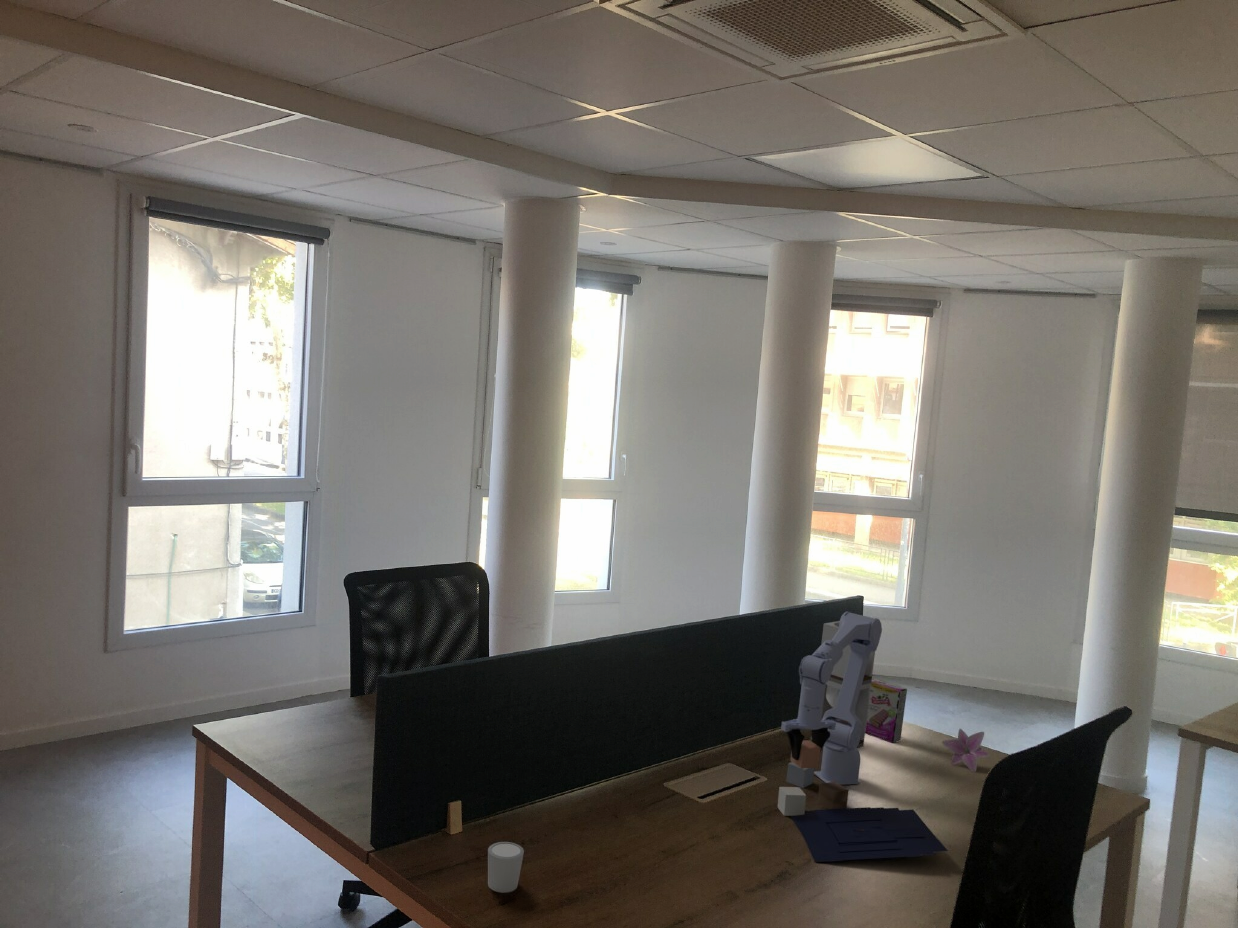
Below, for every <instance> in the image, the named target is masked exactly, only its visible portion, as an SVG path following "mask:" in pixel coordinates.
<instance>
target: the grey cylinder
mask: <svg viewBox="0 0 1238 928" xmlns="http://www.w3.org/2000/svg"><path fill="white" fill-rule="evenodd" d="M524 852H525V850H524V848H523V847H522V846H521V845H520V844H517V843H515V842H511V841H510V842H509V841H499V842H495V843H492V844H491V845H489V847H488V848H487V886H488V888H489V889H491V890H492V891H494V892H496V893H503V894H504V893H505V894H506V893H511V892H514V891H515V890H517V888H518V885H519V884H518V883H519V880H520V876H521V875H520V874H521V869H522V863H523V858H524Z"/></svg>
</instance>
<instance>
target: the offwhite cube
mask: <svg viewBox="0 0 1238 928" xmlns="http://www.w3.org/2000/svg"><path fill="white" fill-rule="evenodd" d="M806 800H807V794H805V792H804V791H803V790H802V789H801V787H799V786H797V787H796V786H795V787H794V786H779V788H778V798H777V808H778V810H779V811H780V813H782V815H783V816H786V817H787V816H788V817H789V816H790V817H791V816H795V815H804V813H805V811H806Z"/></svg>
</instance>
